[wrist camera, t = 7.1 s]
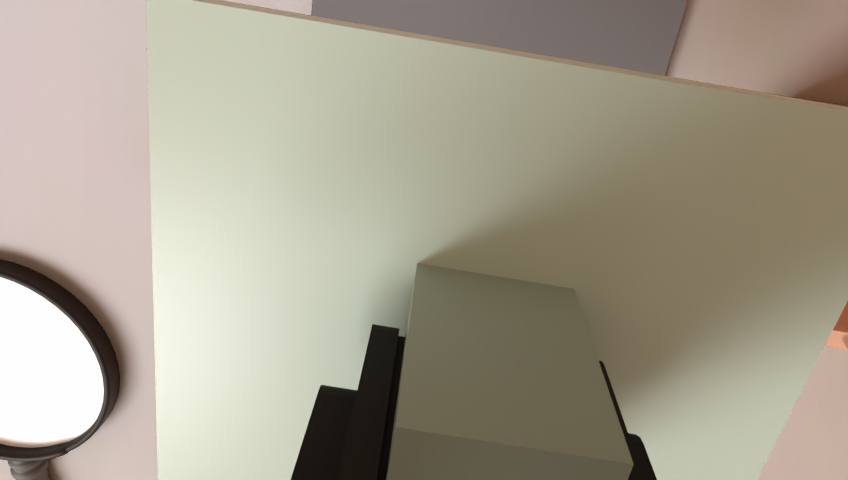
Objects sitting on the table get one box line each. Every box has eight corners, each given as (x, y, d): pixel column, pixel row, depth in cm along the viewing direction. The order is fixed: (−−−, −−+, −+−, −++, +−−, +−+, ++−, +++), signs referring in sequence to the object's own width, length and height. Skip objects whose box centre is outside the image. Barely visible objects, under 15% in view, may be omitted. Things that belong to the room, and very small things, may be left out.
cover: (911, 117, 11) (1239, 241, 6) (672, 610, 16) (756, 869, 12) (160, -10, 11) (-63, 23, 6) (169, 533, 16) (54, 768, 12)
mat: (684, -1, 26) (688, 0, 26) (587, 313, 32) (589, 317, 32) (319, -64, 26) (317, -64, 25) (293, 264, 32) (291, 268, 32)
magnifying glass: (-21, 565, 43) (-44, 594, 41) (-125, 242, 34) (-161, 259, 32) (160, 580, 43) (146, 610, 41) (108, 258, 33) (85, 276, 31)
